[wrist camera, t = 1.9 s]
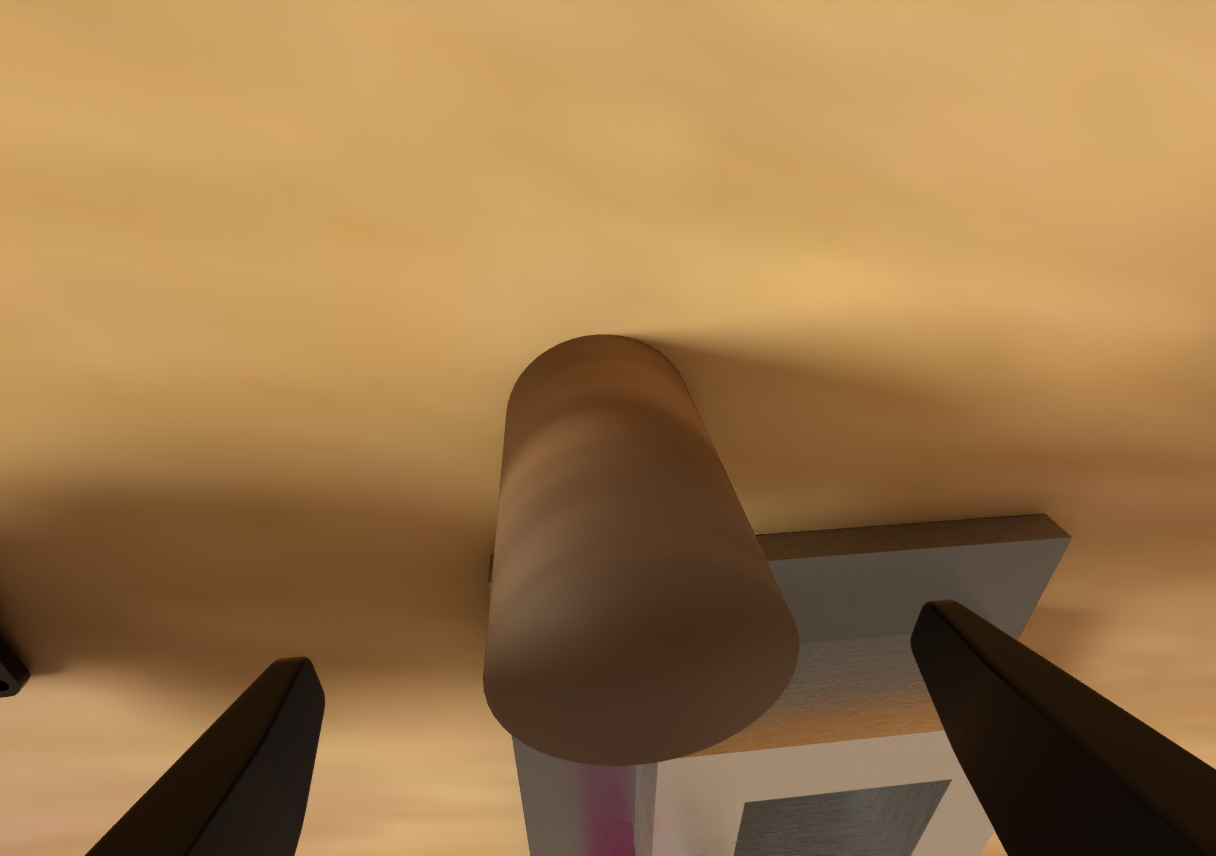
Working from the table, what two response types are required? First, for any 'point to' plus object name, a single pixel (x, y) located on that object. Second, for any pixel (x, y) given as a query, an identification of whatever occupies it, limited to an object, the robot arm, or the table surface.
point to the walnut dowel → (625, 569)
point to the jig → (820, 714)
